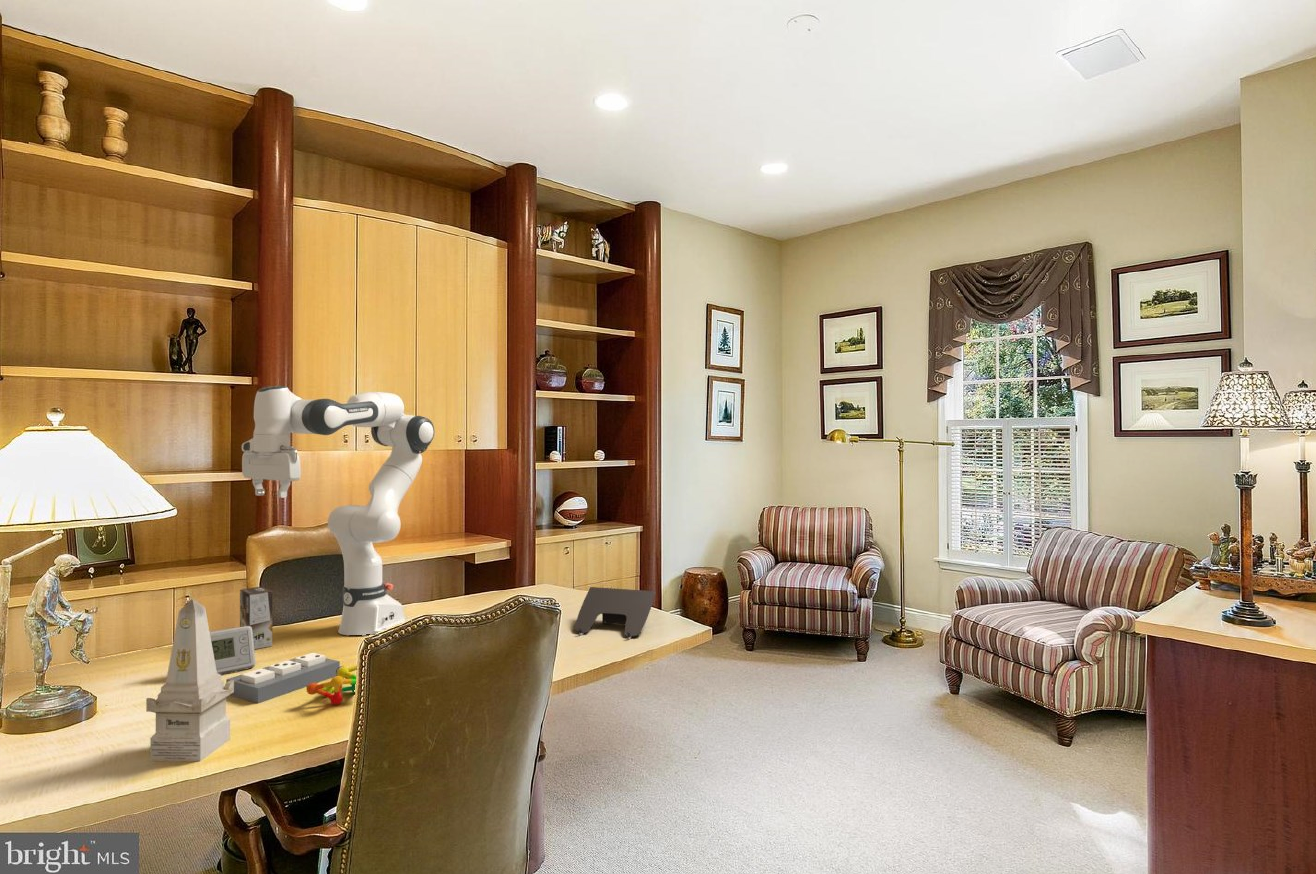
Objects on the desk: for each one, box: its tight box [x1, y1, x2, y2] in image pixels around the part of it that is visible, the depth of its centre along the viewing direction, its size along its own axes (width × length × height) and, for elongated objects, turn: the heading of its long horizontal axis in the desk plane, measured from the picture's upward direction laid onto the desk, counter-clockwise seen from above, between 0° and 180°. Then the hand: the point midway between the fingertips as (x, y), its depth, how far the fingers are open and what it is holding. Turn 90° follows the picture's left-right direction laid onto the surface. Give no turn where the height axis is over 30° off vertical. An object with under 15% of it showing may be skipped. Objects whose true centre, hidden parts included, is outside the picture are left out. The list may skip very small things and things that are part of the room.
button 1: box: [241, 667, 275, 684], centre depth 172 cm, size 5×5×3 cm
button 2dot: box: [295, 652, 326, 667], centre depth 184 cm, size 5×5×3 cm
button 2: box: [268, 659, 301, 675], centre depth 178 cm, size 5×5×3 cm
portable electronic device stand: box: [574, 586, 656, 640], centre depth 232 cm, size 23×23×9 cm
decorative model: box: [306, 664, 358, 706], centre depth 169 cm, size 13×9×15 cm
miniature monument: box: [145, 598, 234, 762], centre depth 141 cm, size 10×10×30 cm
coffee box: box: [239, 586, 273, 650], centre depth 208 cm, size 9×6×16 cm
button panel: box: [225, 657, 341, 704], centre depth 178 cm, size 22×12×4 cm, turn 153°
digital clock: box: [210, 626, 256, 676], centre depth 186 cm, size 16×9×11 cm, turn 123°
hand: (270, 496), depth 194 cm, fingers open, 8 cm apart
